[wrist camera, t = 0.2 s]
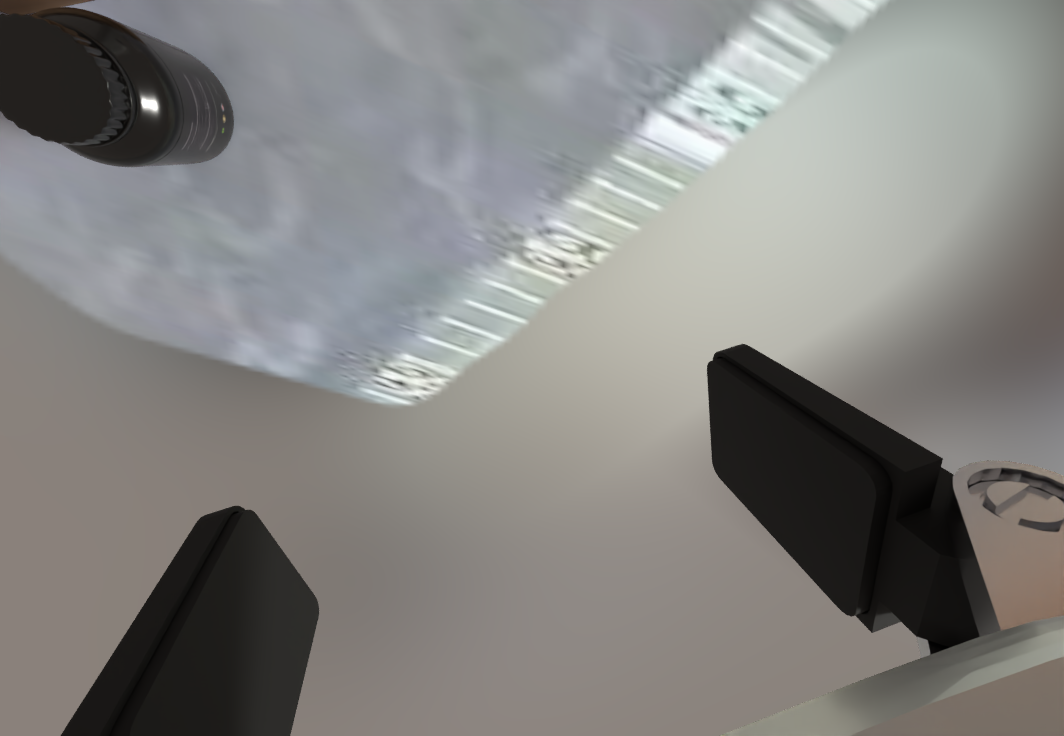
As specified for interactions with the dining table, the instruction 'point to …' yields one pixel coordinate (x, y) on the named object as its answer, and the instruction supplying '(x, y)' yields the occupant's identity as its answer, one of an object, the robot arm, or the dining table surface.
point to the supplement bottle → (110, 90)
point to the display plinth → (34, 5)
